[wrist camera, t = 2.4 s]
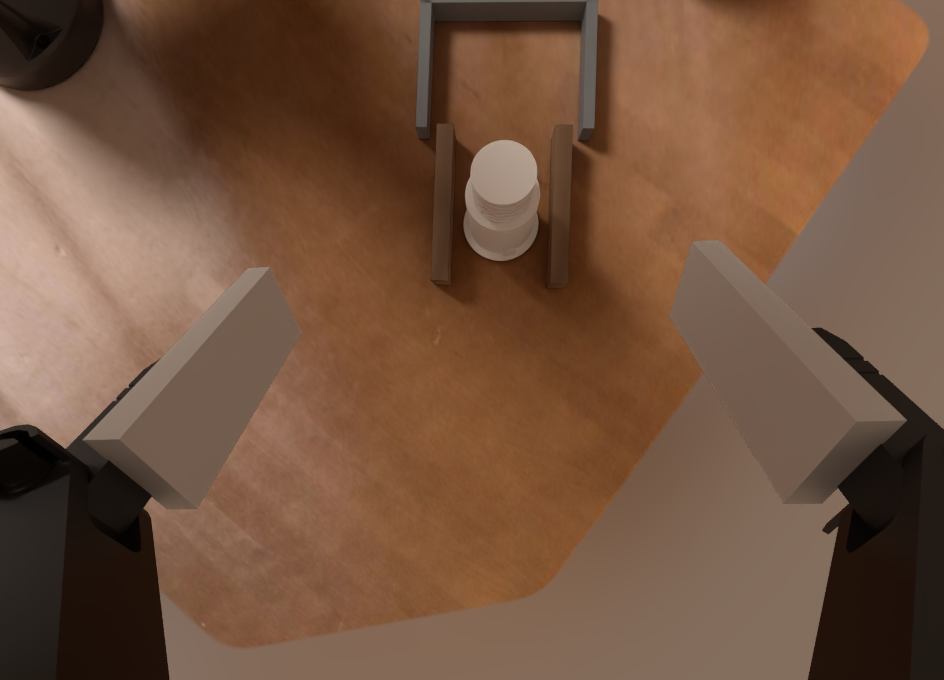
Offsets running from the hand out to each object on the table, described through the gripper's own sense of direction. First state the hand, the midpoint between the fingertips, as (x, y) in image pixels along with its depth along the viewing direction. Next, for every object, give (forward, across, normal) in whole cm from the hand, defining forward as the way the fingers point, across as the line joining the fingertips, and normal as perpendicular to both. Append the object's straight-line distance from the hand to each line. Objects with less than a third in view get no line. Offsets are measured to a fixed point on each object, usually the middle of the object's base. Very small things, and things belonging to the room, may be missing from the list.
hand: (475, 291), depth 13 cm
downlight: (+24, +1, -8) cm, 26 cm away
